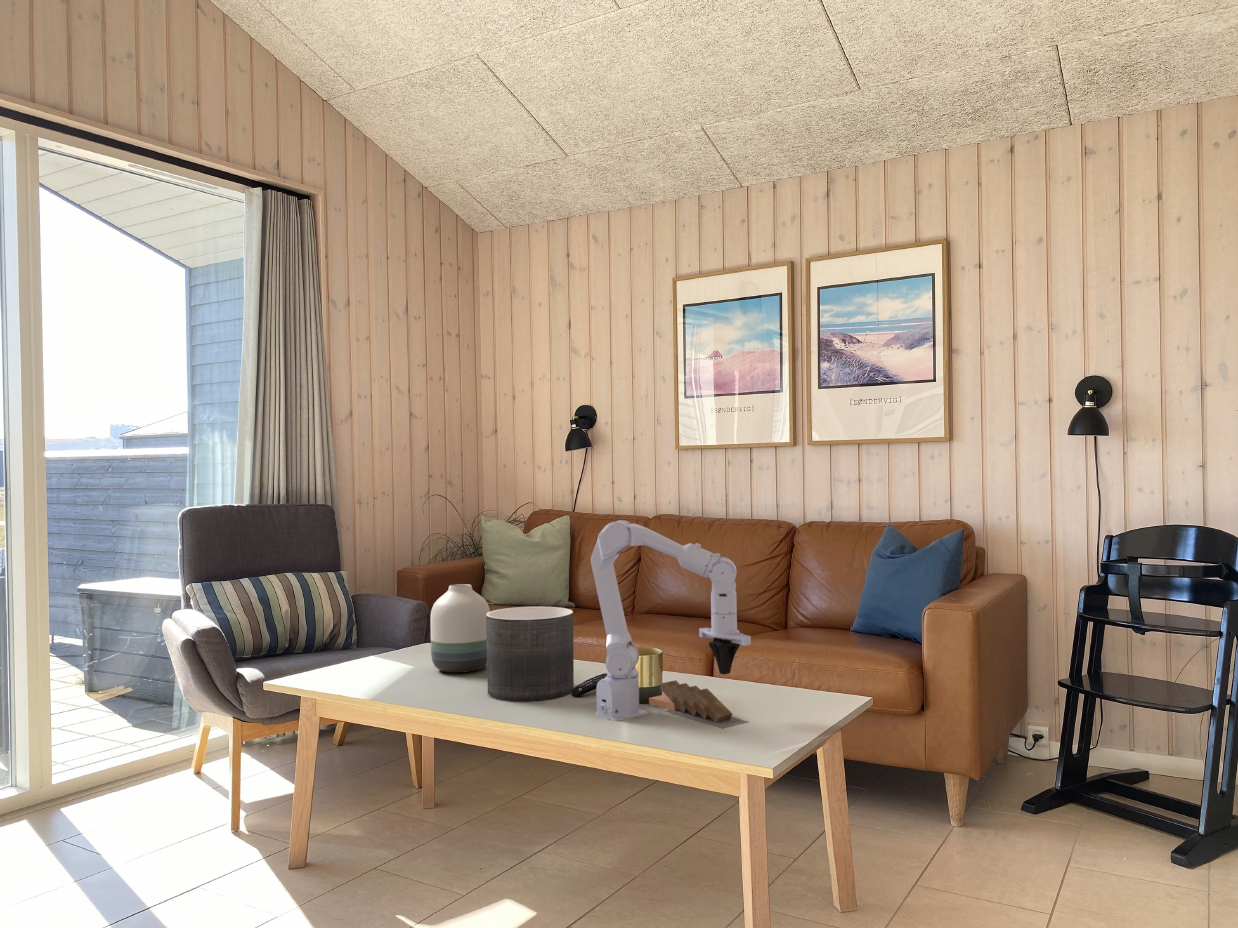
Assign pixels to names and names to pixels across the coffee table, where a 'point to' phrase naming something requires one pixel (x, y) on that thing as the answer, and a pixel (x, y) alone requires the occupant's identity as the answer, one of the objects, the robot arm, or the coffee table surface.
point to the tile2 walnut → (687, 694)
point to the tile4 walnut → (666, 689)
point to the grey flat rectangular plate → (722, 724)
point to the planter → (530, 653)
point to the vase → (459, 630)
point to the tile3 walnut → (676, 692)
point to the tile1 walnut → (711, 705)
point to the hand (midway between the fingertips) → (724, 673)
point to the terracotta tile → (663, 702)
